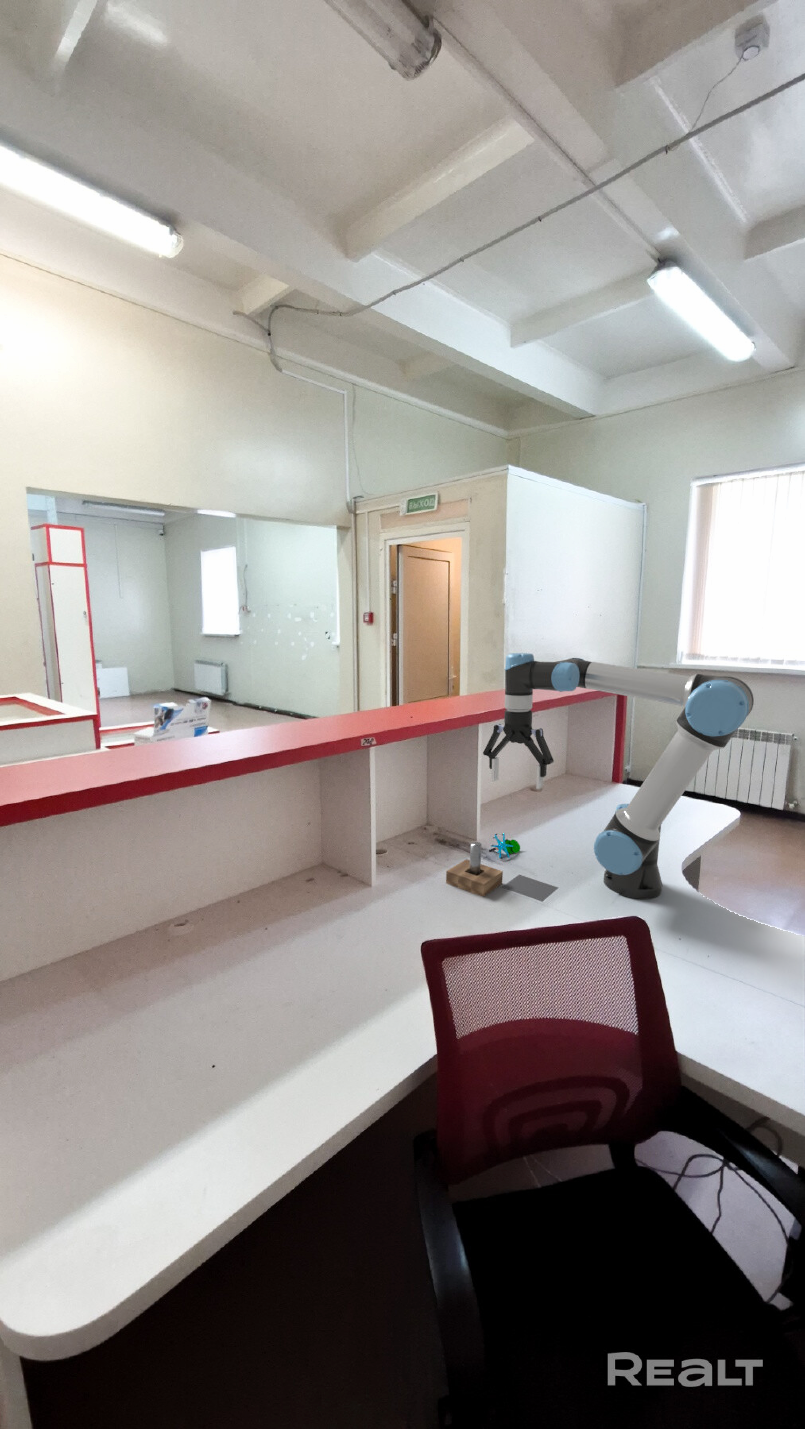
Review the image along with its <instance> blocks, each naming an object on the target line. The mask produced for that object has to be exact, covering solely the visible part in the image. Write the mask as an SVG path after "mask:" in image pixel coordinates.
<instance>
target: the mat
mask: <svg viewBox="0 0 805 1429" xmlns="http://www.w3.org/2000/svg"><path fill="white" fill-rule="evenodd" d="M501 888H503V889H505V890H508V891H511V892H514V893H517V894H520V895H523V896H526V897H528V898H531V899H534V900H536V901H539V902H544V900H546V899H547V898H548V897H549V896H550V895H552V894H553V893H554V892H555V891H556V890H558V889H559V887H558V886H555V885H552V884H548V883H546V882H543V881H539V880H537V879H533V878H531V877H527V876H525V875H522V874H518V875H517V876H515V877H513V878H512V879H511V880H510V881H508V882H507V883H505V884H504V885H503V886H501Z"/></svg>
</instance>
